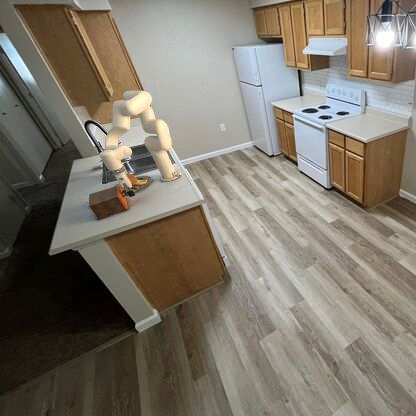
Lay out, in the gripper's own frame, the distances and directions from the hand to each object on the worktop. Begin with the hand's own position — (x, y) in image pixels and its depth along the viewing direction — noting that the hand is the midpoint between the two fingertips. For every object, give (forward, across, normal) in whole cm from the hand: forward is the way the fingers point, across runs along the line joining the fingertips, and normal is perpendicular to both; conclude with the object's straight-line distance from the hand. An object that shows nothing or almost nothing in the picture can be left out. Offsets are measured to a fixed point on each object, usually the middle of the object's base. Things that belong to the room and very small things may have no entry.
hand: (132, 195), depth 169 cm
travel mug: (+4, +50, +3) cm, 50 cm away
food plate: (+4, +23, -1) cm, 24 cm away
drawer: (+4, 0, +10) cm, 11 cm away
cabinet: (+4, 0, +13) cm, 14 cm away
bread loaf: (+1, +23, 0) cm, 23 cm away
